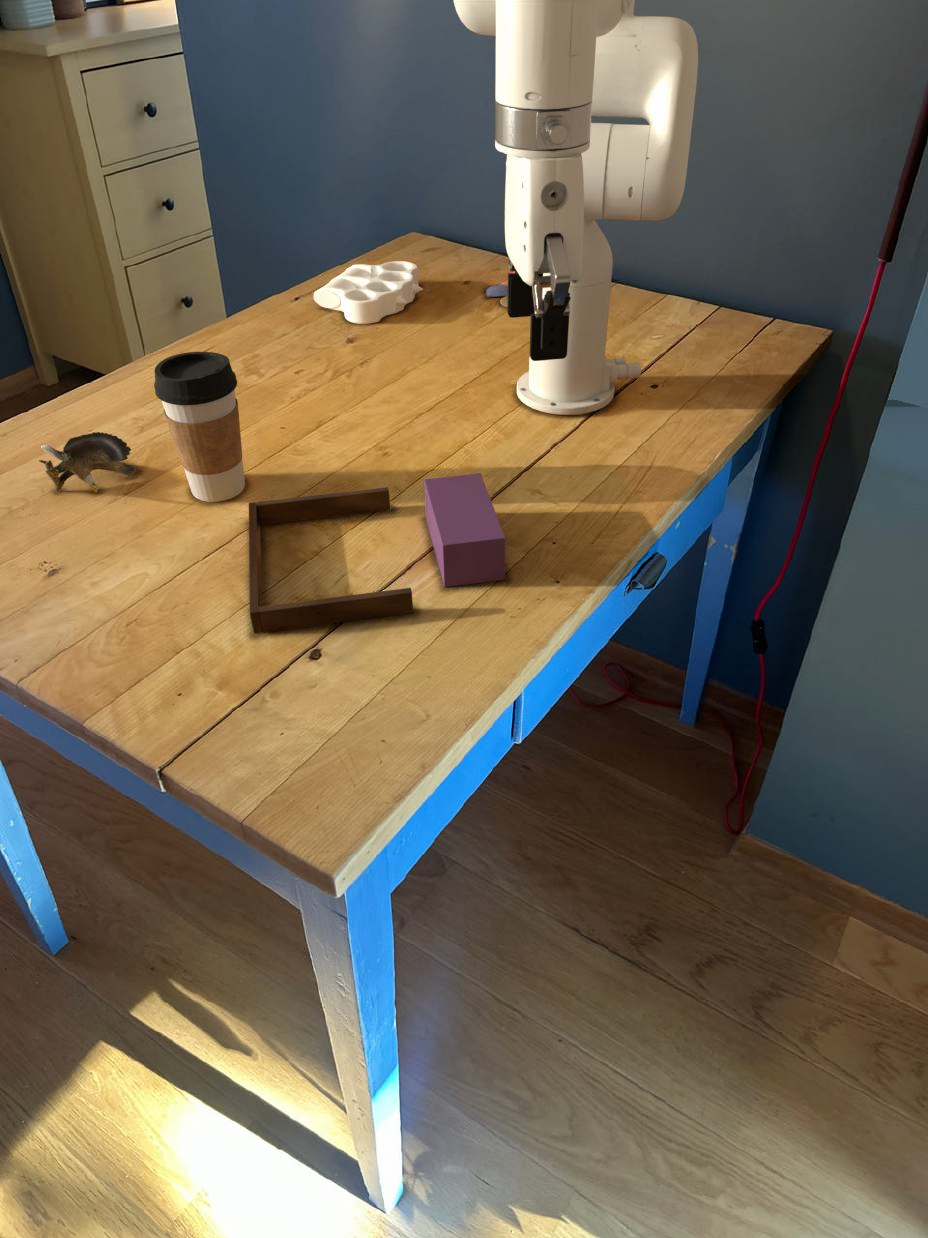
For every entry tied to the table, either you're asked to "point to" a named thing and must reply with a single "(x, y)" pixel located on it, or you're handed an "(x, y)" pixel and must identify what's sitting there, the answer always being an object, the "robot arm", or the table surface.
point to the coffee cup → (203, 421)
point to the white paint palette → (370, 291)
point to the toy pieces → (499, 292)
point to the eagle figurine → (88, 458)
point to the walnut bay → (327, 607)
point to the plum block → (464, 530)
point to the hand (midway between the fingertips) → (535, 335)
